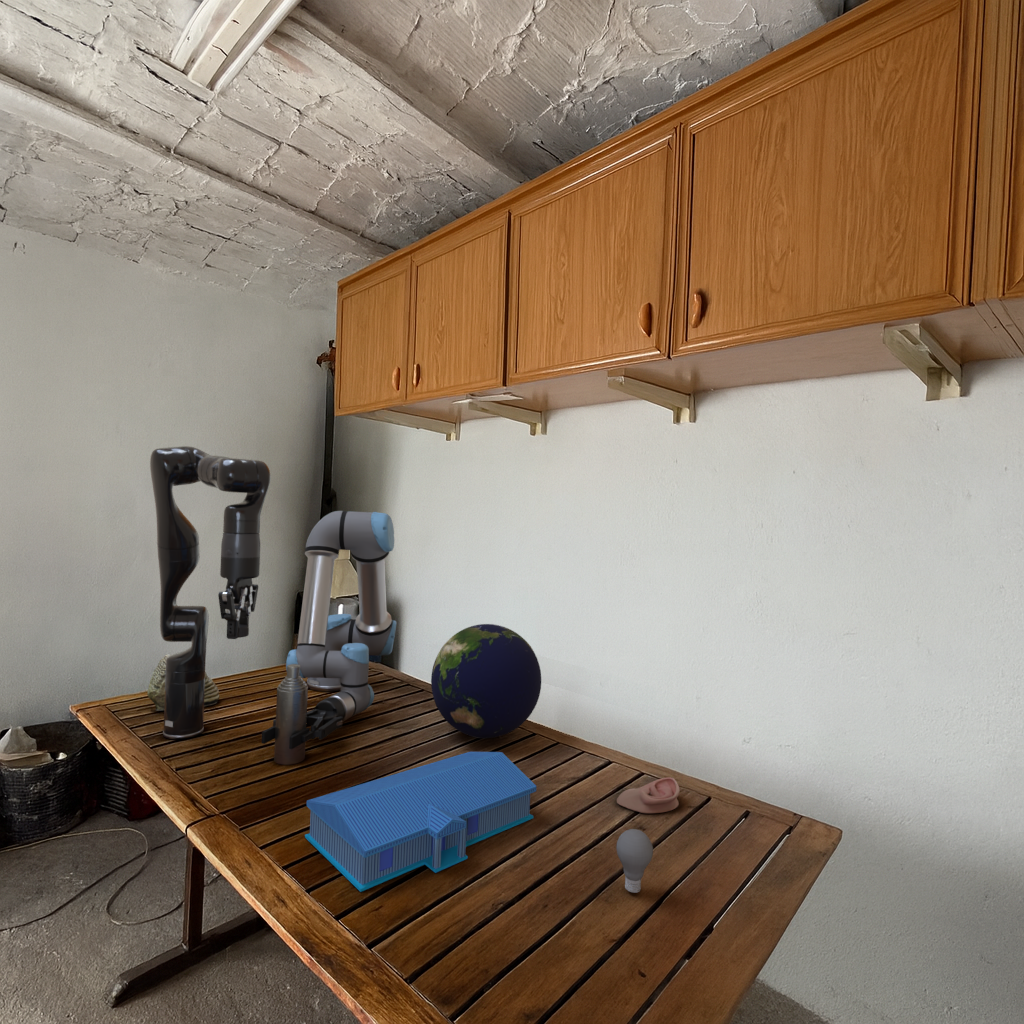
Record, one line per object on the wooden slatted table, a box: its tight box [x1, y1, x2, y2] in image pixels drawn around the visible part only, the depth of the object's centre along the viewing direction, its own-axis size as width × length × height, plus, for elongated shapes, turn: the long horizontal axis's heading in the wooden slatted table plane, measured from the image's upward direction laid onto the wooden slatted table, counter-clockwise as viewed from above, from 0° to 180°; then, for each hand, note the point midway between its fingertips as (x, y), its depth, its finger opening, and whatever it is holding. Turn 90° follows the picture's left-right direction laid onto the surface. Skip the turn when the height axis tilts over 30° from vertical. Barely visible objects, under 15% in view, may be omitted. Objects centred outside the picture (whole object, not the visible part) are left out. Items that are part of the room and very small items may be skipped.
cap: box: [237, 624, 250, 639], centre depth 133 cm, size 4×4×2 cm
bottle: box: [273, 664, 309, 766], centre depth 152 cm, size 7×7×22 cm
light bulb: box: [615, 828, 654, 894], centre depth 106 cm, size 6×6×10 cm
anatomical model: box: [616, 776, 681, 814], centre depth 138 cm, size 13×4×12 cm
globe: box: [430, 623, 542, 739], centre depth 172 cm, size 30×30×30 cm
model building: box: [304, 751, 538, 893], centre depth 122 cm, size 39×24×10 cm, turn 132°
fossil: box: [147, 654, 221, 712], centre depth 185 cm, size 9×18×15 cm, turn 132°
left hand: (237, 635), depth 133 cm, fingers closed on cap, 4 cm apart
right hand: (276, 740), depth 147 cm, fingers closed on bottle, 7 cm apart
